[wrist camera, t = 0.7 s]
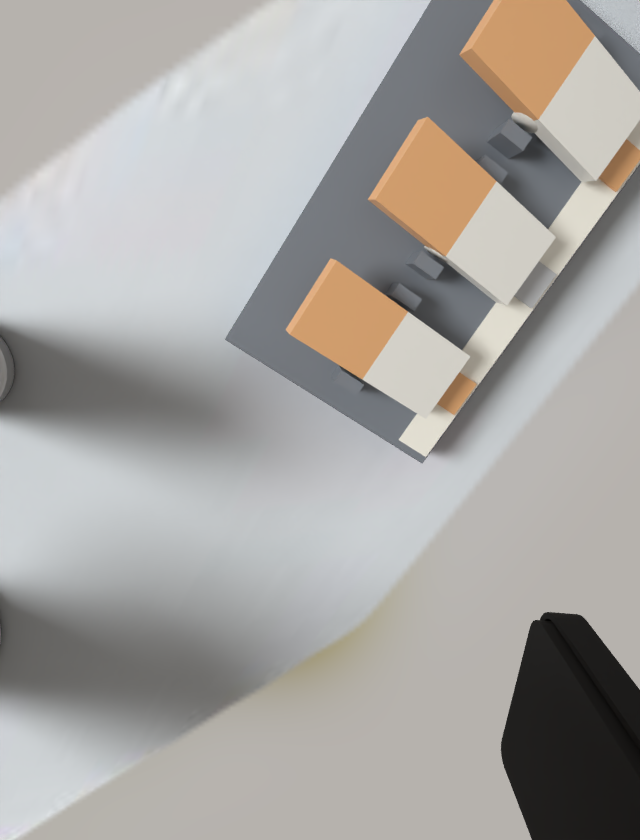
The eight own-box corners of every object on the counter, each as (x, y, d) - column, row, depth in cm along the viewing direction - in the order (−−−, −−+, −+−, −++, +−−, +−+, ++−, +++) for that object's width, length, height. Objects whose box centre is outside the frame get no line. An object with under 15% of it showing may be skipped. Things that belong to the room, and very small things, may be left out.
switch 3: (412, 407, 34) (425, 418, 32) (282, 326, 30) (289, 334, 28) (454, 348, 33) (470, 356, 31) (326, 256, 29) (336, 260, 27)
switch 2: (488, 300, 32) (506, 305, 31) (362, 199, 28) (375, 199, 27) (534, 235, 32) (555, 237, 30) (411, 122, 27) (428, 116, 26)
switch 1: (571, 182, 31) (596, 180, 29) (451, 58, 27) (471, 48, 25) (622, 110, 30) (650, 105, 28) (505, -28, 26) (530, -45, 24)
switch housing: (412, 449, 38) (429, 474, 33) (230, 334, 35) (220, 343, 30) (653, 113, 33) (716, 85, 28) (465, -51, 30) (499, -114, 25)
